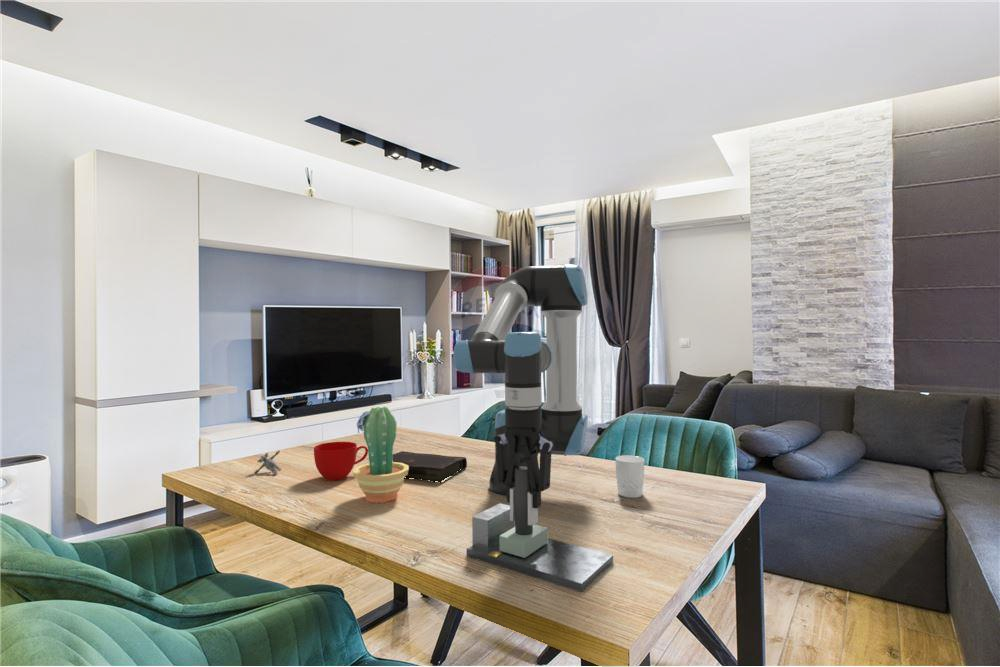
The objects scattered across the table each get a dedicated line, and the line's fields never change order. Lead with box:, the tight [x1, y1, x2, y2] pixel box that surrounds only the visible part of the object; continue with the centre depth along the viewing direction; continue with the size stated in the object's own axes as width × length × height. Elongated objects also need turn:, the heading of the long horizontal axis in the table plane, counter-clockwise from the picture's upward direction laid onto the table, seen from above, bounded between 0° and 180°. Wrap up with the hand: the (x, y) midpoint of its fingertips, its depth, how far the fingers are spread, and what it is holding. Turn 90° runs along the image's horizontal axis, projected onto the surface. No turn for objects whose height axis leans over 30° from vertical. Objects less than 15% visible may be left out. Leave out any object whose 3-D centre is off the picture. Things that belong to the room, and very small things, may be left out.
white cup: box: [615, 454, 645, 499], centre depth 146 cm, size 8×8×10 cm
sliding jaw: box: [499, 466, 549, 558], centre depth 107 cm, size 6×9×16 cm, turn 145°
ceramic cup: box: [313, 441, 368, 481], centre depth 165 cm, size 13×17×10 cm
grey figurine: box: [253, 450, 282, 476], centre depth 170 cm, size 10×6×9 cm
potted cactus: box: [352, 406, 409, 504], centre depth 144 cm, size 15×15×25 cm
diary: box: [393, 450, 468, 484], centre depth 170 cm, size 19×25×5 cm
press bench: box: [465, 503, 614, 593], centre depth 105 cm, size 26×14×8 cm, turn 55°
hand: (523, 520), depth 107 cm, fingers closed on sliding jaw, 4 cm apart
